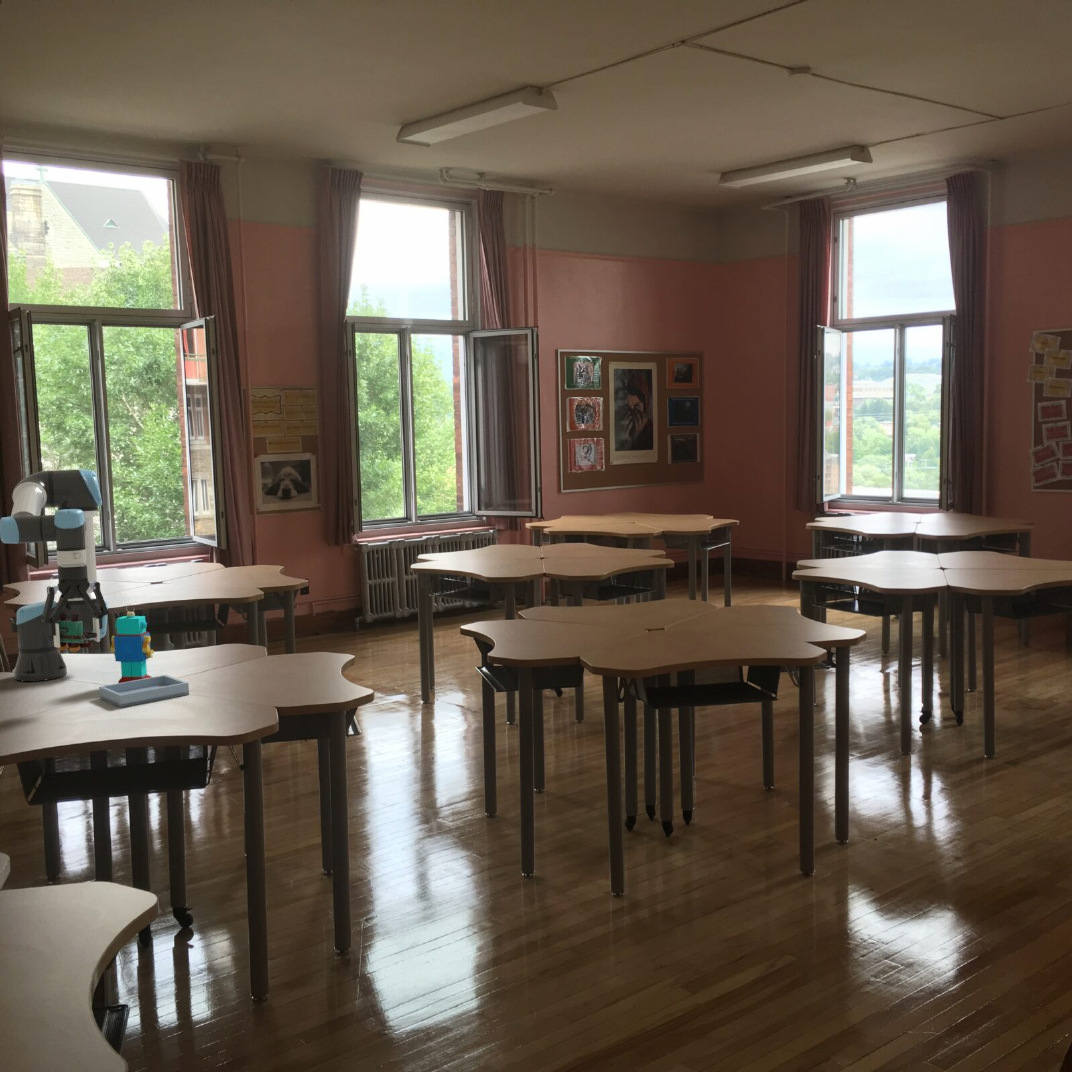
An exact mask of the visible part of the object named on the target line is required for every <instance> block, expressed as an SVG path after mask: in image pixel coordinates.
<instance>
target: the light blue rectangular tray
mask: <svg viewBox="0 0 1072 1072" xmlns="http://www.w3.org/2000/svg"><path fill="white" fill-rule="evenodd" d="M189 687H190V685H189V682H187V681H184V680H182V679H179V678H176V677H173V676H170V675H168V674H162V675H158V676H151V678H145V679H140V680H134V681H128V682H123V683H114V684H106V685H102V686H101V685H100V686H98V690H99V699H100V700H102V701H104V702H106V703H109V704H111V705H114V706H116V707H118V708H120V709H123V708H127V707H133V706H132V705H134V706H138V705H143V704H142V703H144V704H147V703H153V702H152V701H154V702H159V701H163V700H162V699H164V700H168V699H173V698H172V697H174V698H178V696H180V697H183V695H185V696H188V695H190V690H189V689H190V688H189Z"/></svg>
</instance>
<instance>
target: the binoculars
mask: <svg viewBox="0 0 1072 1072" xmlns="http://www.w3.org/2000/svg"><path fill="white" fill-rule="evenodd" d="M59 616H60V620H58V623H57V624H59V635H60V647H59V648H57V650H59V651H60V652H61V651H65V650H67V649H69V652H70V653H75V652H78V651H80V650H81V649H84V648H94V646H93V645H94V644H93V642H84V641H88V640H87V639H88V638H96V637H97V633H91V632H83V623H82V621H78V617H79V613H77V614H73V615H71V617H72V621H69V620H67V616H68V614H67V613H65V612H61V613H60V615H59ZM85 636H86V640H85V639H84V637H85ZM83 642H84V643H83Z"/></svg>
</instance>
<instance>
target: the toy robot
mask: <svg viewBox="0 0 1072 1072" xmlns="http://www.w3.org/2000/svg"><path fill="white" fill-rule="evenodd" d="M129 605H130V603H129V604H127V605H126V607H125V609H126V611H127V612H126V615H125V616H120V617H118V618H116V622H115V625H114V626H115V628H116V630H117V631H116V632H117V634H115V635H112V636H111V639H110V640H111V646H110V652H111V653H113V655H114V658H115V660H114V661H115V662H118V663H119V662H120V669H121V677H120V678H119V680H118V683H123V682H128V681H134V680H140V679H145V678H151V677H152V676H151V675H148V673H147V672H148V670H147V660H148V659H153V658H154V656H153V654H155V651H154V649H151V640H152V639H151V638H152V637H151V634H150V633H151V632H149V631H147V626H148V623H147V622H146V616H145V615H141V616H139V615H136V614H135V609H133V611H128V609H127V608H128V606H129Z"/></svg>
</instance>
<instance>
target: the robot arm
mask: <svg viewBox="0 0 1072 1072" xmlns="http://www.w3.org/2000/svg"><path fill="white" fill-rule="evenodd" d="M100 490H101V489H100V485H99V481H98V477H97V473H96V472H95V471H94V470H92V469H80V468H79V469H64V470H63V469H62V470H43V471H42V470H41V471H38V472H34V473H32V474H30V475H28V476H26V477H24V478H23V479H21V480H20V481H19V482H18V483H17V484H16V485H15V487H14V488H13V492H12V495H11V496H12V501H13V506H12V509H11V515H10V516H9V515H8V516H6V517H1V518H0V541H1V542H2V544H15V545H17V544H18V545H19V544H28V543H29V544H30V543H46V542H47V543H48V542H49V543H50V542H55V543H56V563H57V565H58V567H57V578H58V583H57V585H54V586H50V585H49V586H47V587H46V595H47V596H46V600H44V601H40V602H39V601H38V602H35V603H30V604H27V605H23V606H22V607H19V609H18V610H17V611H16V622H15V624H16V626H17V627H16V631H17V645H18V657H17V661H16V664H15V668H14V672H13V675H14V676H13V677H14V678H15V679H17V680H21V681H20V682H23V681H33V682H40V681H39V680H44V681H46V680H45V679H51V680H54V679H55V678H56V679H59V677H60V678H63V677H65V676H66V675H68V670H67V665H66V662H65V660H64V658H63V655H62V653H61V651H59V650H57V648H59V647H60V635H59V624H57V623H58V620H60V616H59V615H60V613H61V612H65V613H67V614H68V616H67V620H69V621H72V617H71V615H73V614H77V613H79V617H78V621H82V623H83V632H91V633H97V637H96V638H88V639H87V640H86V636H85V637H84V639H85V640H84V641H92V640H93V641H94V642H97V643H99V642H101V639H102V638H104V637H105V635H106V633H107V624H108V615H109V602H108V601H105V599H104V596H103V594H102V592H101V591H102V590H101V583H100V582H99V581H98V575H97V561H96V560H97V559H96V544H95V529H94V528H95V527H94V526H95V525H94V516H95V515H96V514H98V511H99V510H98V507H100V506H103V501H102V495H101V491H100ZM46 508H47V509H48V508H51V509H52V508H53V509H54V508H57V509H58V510H56V511H55V512H54V514H46V515H43V514H42V515H41V512H42V509H46ZM58 591H59V592H60V596H59V599H58V601H55V595H56V594H57V592H58ZM15 679H14V680H15ZM56 679H55V680H56ZM17 680H16V681H17ZM22 680H23V681H22Z"/></svg>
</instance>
